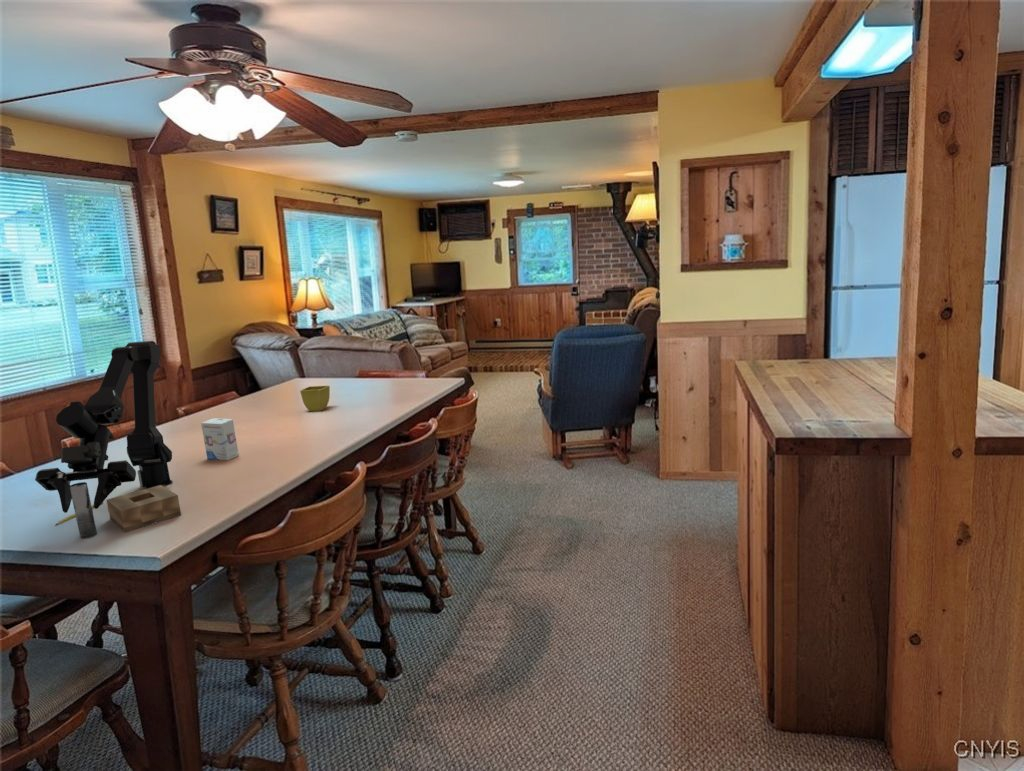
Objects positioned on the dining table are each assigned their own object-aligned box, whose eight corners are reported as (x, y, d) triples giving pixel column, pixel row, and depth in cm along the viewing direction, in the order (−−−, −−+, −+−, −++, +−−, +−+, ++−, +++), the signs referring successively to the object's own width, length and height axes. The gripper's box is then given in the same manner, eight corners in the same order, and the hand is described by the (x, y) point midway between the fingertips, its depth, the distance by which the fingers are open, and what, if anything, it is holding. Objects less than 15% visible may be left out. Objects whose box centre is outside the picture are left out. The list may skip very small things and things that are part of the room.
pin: (95, 531, 148) (84, 481, 146) (98, 535, 146) (88, 484, 143) (78, 536, 146) (68, 485, 144) (82, 539, 144) (71, 488, 141)
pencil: (53, 527, 153) (52, 523, 153) (100, 504, 167) (99, 501, 166) (56, 527, 153) (55, 523, 153) (103, 504, 166) (102, 500, 166)
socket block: (164, 503, 163) (160, 484, 162) (181, 514, 155) (177, 494, 154) (110, 519, 155) (106, 499, 154) (125, 532, 146) (121, 511, 145)
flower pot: (312, 407, 265) (309, 385, 263) (332, 406, 264) (329, 385, 262) (302, 412, 256) (299, 390, 255) (323, 412, 255) (320, 389, 253)
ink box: (205, 459, 200) (199, 422, 198) (218, 454, 205) (212, 418, 203) (227, 460, 197) (221, 422, 195) (239, 455, 202) (234, 418, 200)
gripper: (30, 435, 144) (12, 500, 135) (121, 425, 147) (110, 488, 138) (55, 459, 153) (40, 521, 144) (141, 449, 156) (131, 510, 147)
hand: (80, 510), depth 143 cm, fingers open, 6 cm apart
